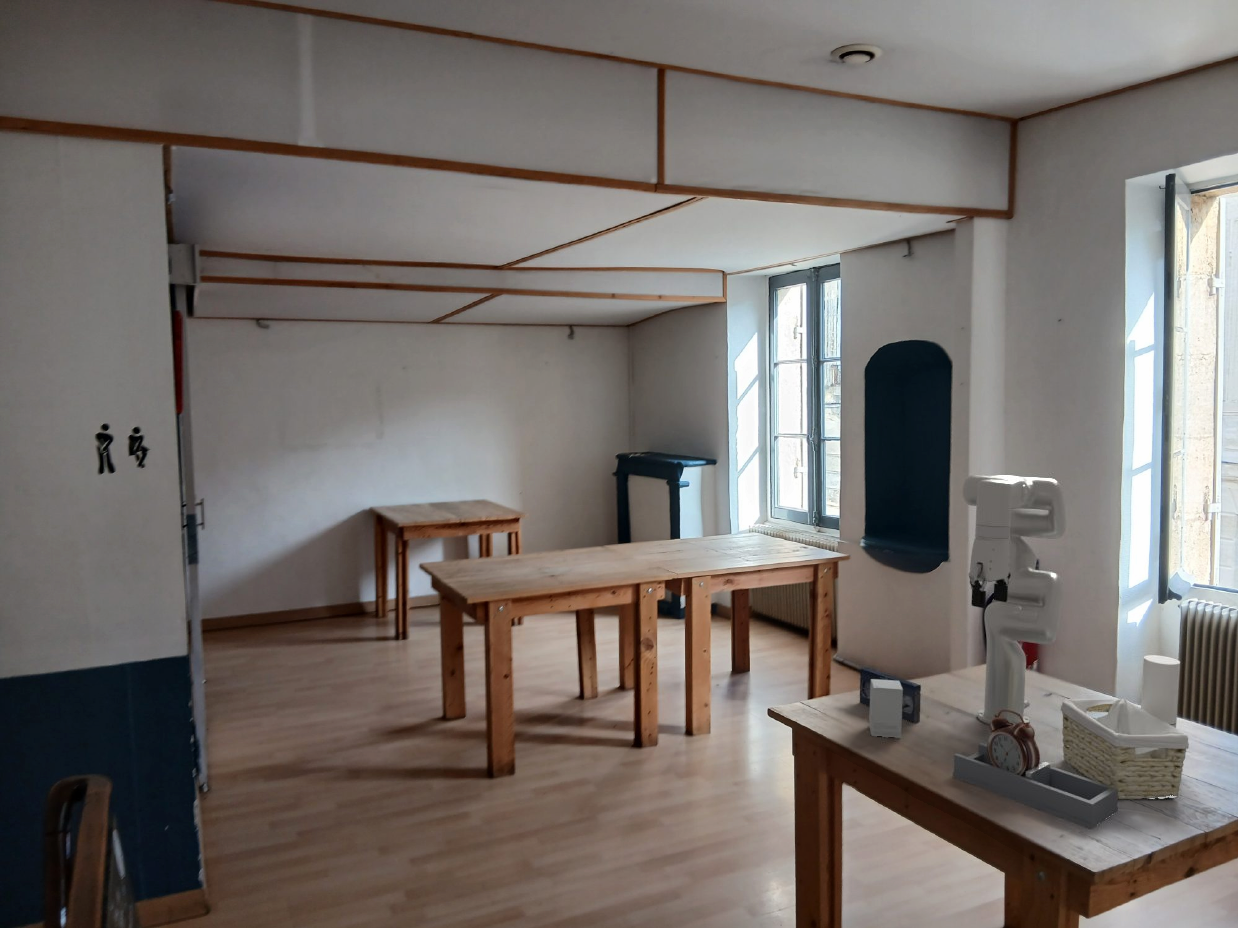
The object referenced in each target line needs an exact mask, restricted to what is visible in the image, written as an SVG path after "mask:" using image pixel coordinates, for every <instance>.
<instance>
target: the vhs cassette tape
mask: <svg viewBox="0 0 1238 928" xmlns="http://www.w3.org/2000/svg"><path fill="white" fill-rule="evenodd" d="M859 671H860V672H859V673H860V674H859V676H860V678H859V704H861V705H863V706H866V707H869V708H870V685H871V679H878V680H895V681H900V684H901V686H902V689H903V698H902V720H903V719H904V721H906V720H907V722H909V723H911V722H912V723H911V724H916V723H918V722H920V721H921V694H922V693H921V692H922V691H921V690H922V686H921V684H918V683H915V682H912V681H910V680H906V679H904V678H900V677H898V676H895V675H894V676H893V675H890V674H888V673H884V672H881V671H879V670H876V669H875V670H874V669H872V668H868V667H861V668H860V670H859Z"/></svg>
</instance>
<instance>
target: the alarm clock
mask: <svg viewBox="0 0 1238 928" xmlns="http://www.w3.org/2000/svg"><path fill="white" fill-rule="evenodd" d="M1002 712H1010V713H1014V714H1016V715H1018V716H1019V717H1020V719H1021V721H1022V722H1020V723H1017V724H1016V725H1015V726H1013V723H1009V721H1008V720H1007V719H1006V718H1003V717H999V716H1000V714H1001V713H1002ZM994 718H995V719H993V720H992V721H991V722H990V725H989V730H990V732H991V734H990V735H989V736H988V740H987V743H986V744H987V750H988V755H989V758H990V760H991V763H992V764H993V766H994V767H997V768H1000V769H1002V770H1005V771H1008V772H1011V773H1014V774H1016V775H1019V776H1022V777H1025V776H1026V771H1028V770H1030V769H1032V768H1034V767H1036V766H1037V765H1039V762H1040V763H1041V761H1040V760H1041V756H1040V749H1039V746H1038V743H1037V742H1036V740H1035V736H1036V735H1035V734H1036V733H1035V729H1034V727H1033V726H1032V725H1031V724H1029V723H1028V722H1027V723H1025V722H1024V720H1023V718H1022V716H1021V715H1020V714H1018V713H1016V712H1014V711H1010V710H1001V711H999V713H998V715H994ZM1009 726H1010V727H1009ZM1011 726H1012V727H1011Z"/></svg>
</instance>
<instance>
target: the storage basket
mask: <svg viewBox="0 0 1238 928" xmlns="http://www.w3.org/2000/svg"><path fill="white" fill-rule="evenodd" d="M1061 703H1062V704H1061V706H1060V711H1061V712H1062V731H1061V732H1062V736H1063V737H1062V743H1063V747H1062V750H1063V752H1062V753H1063V756H1062V757H1063V760H1064V761H1065V762H1067V763H1068V765H1070V766H1071V767H1072V768H1074V769H1076V770H1077V771H1078V772H1079V773H1081V774H1082V775H1083V776H1084V777H1085V778H1088V779H1090V780H1093V781H1096V782H1099V783H1102V784H1105V785H1108V786H1111V787H1114V788H1117V789H1118V799H1119V800H1126V799H1127V800H1142V799H1141V798H1158V797H1166V796H1170V795H1171V796H1172V795H1173V796H1178V797H1179V792H1180V787H1181V782H1182V775H1183V774H1182V773H1183V772H1184V771H1183V770H1184V769H1183V767H1184V762H1185V760H1186V754H1187V750H1188V749H1189V736H1188V734H1187V733H1184V732H1182V731H1181V730H1179V729H1178V728H1177V727H1176V728H1175V727H1173V726H1171V725H1169V724H1168V723H1166V722H1164V721H1162V720H1160V719H1159V718H1157V717H1155V716H1153V715H1151V714H1150V713H1148V712H1146V711H1145V710H1143V709H1141V706H1138V705H1136V704H1134V703H1133V702H1131V701H1129V700H1127V699H1125V698H1065V699H1064V700H1063V701H1062V702H1061ZM1087 712H1089V713H1092V712H1094V713H1096V712H1097V713H1107V714H1105V715H1103V716H1099V717H1098V718H1097V719H1094V718H1093V717H1091V716H1090V715H1088V714H1087Z"/></svg>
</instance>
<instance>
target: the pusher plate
mask: <svg viewBox="0 0 1238 928" xmlns="http://www.w3.org/2000/svg"><path fill="white" fill-rule="evenodd" d="M1040 763H1041V764H1039V765H1037V766H1036V767H1034V768H1032V769H1030V770H1028V771H1026V778H1028V779H1030V780H1033V781H1036V782H1039V783H1042V784H1044V785H1047V786H1049V782H1050V766H1051V762H1046V761H1044V762H1040Z"/></svg>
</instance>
